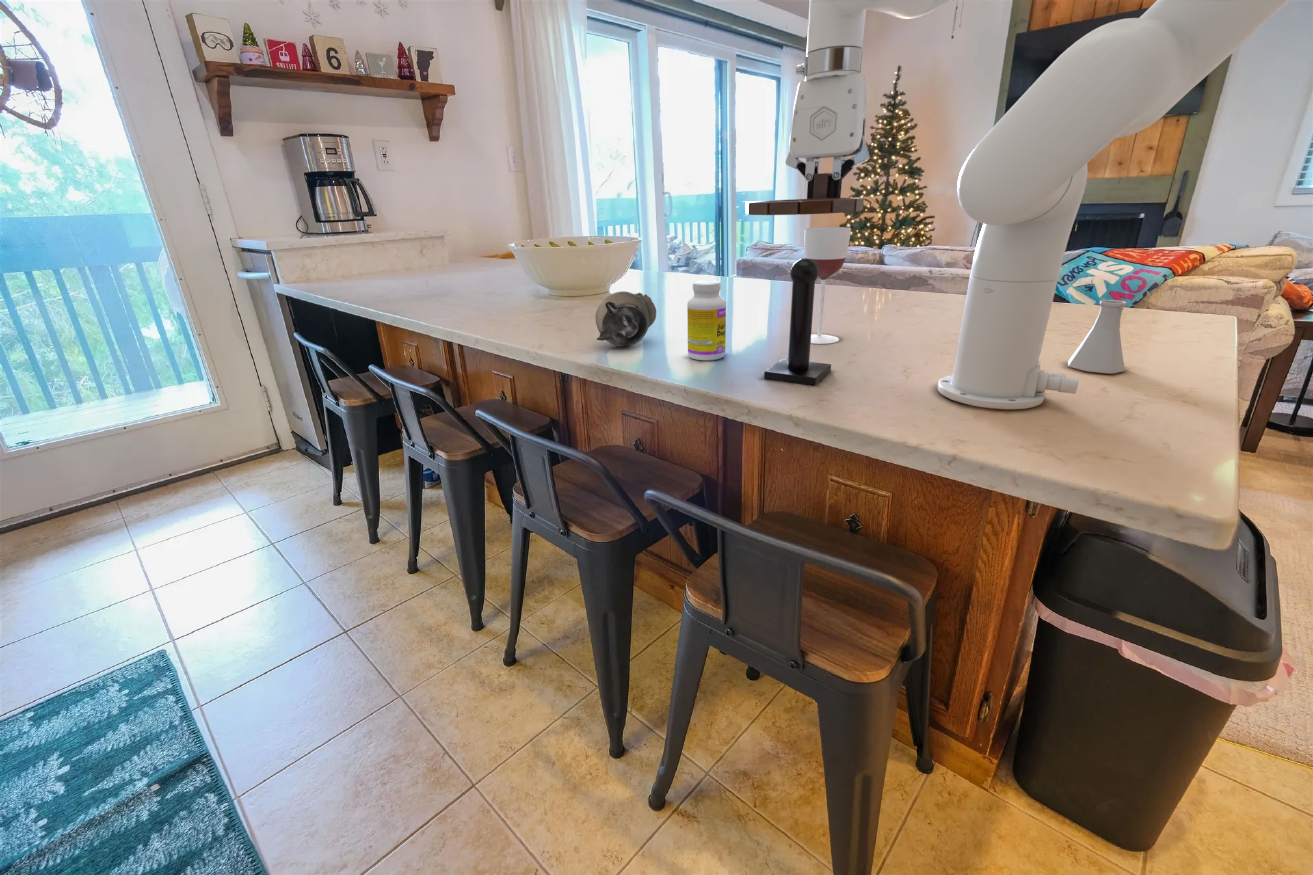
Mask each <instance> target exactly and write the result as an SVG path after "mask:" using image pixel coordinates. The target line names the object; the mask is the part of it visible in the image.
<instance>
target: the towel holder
mask: <svg viewBox="0 0 1313 875" xmlns="http://www.w3.org/2000/svg"><path fill="white" fill-rule="evenodd" d="M818 273H819V271H818V266H817V265H816V263H815V262H814V261H812V260H811V259H806V258H805V257H804V258H800V259H798V260H796V261H795V262H794V263H793V264H792V266H791V268H790V271H789V274H790V275H789V277H790V280H791V282H792V283H791V284H792V285H791V302H790V319H789V320H790V321H789V335H788V337H789V339H788V353H787V356H788V357H787V358H782V359H780V360H778V361H777V362H776V363H774V364H773V365H772V366H770V367H769V368H767V369H766V370H765V371H764V373H763V379H764V380H769V381H776V382H777V381H778V382H785V383H791V384H792V383H793V384H799V385H805V386H806V385H807V386H814V387H815V386H817V385H818V384H819V383H820V382H821V381H822V380H823V379H824V378H825V377H826V376H828V374H830V373H831V372H832V364H831V363H824V362H815V361H810V358H811V345H812V343H811V335H812V328H813V315H814V314H813V313H814V301H815V300H814V299H815V288H816V281H817V279H818V278H819V277H818Z"/></svg>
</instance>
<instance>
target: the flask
mask: <svg viewBox="0 0 1313 875" xmlns="http://www.w3.org/2000/svg"><path fill="white" fill-rule="evenodd" d="M1127 305H1128V302H1127V301H1126V300H1120V299H1119V300H1118V299H1102V300H1100V301H1099V306H1100V309H1099V312H1098V315H1097V317H1096V319H1095V322H1094V323H1093V325H1092V327H1091V328H1090V330H1089V331H1088V332H1087V334H1086V336H1085V337H1084V339H1083V340H1082V342H1081V343H1080V344H1079V345H1078V347H1077V348H1076V350H1074V352H1073V354H1072V355H1071V356H1070V358H1069V359H1068V361H1067V366H1068V367H1069V368H1073V369H1077V370H1081V371H1085V372H1091V373H1102V374H1111V375H1112V374H1116V373H1122V372H1125V371H1126V370H1125V362H1124V355H1123V349H1122V340H1121V318H1122V313H1123V310H1124V308H1125V307H1127Z"/></svg>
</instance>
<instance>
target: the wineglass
mask: <svg viewBox="0 0 1313 875" xmlns="http://www.w3.org/2000/svg"><path fill="white" fill-rule="evenodd" d="M803 232H804V233H803V250H804V251H803V253H804V258H806V259H811V260H812V261H814V262H815V263H816V265H817V266H818V271H819V273H818V277H817V278H819V279H820V280H821V281H820V292H819V294H820V295H819V307H818V318H817V331H816V332H817V334H816V333H815V334H811V344H815V345H816V344H817V345H826V344H835V343H837V342H839V341H840V338H839V337H838V336H834V335H830V334H822V330H823V317H824V305H825V293H826V280H827V279H828V278H830V277H832V276H833V275H835V274H836V273H837V272H839V271H840V270H841V269H842V267H843V266H844V263H845V262H846V259H847V255H848V252H849V251H848V250H849V245H850V240H851V232H852V228H851V227H846V226H822V227H808V228H804V231H803Z"/></svg>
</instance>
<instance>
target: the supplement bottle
mask: <svg viewBox="0 0 1313 875" xmlns="http://www.w3.org/2000/svg"><path fill="white" fill-rule="evenodd" d="M721 283H722V282H721V281H718V280H696V281H693V283H692V290H693V296H692V297H690V298H689V299H688V300H687V304H686V305H687V308H686V311H687V355H688V356H689V358H691V359H692V360H697V361H715V360H716V361H717V360H719V359H722V358H723V357H724V356H725V354H726V340H727V337H726V336H727V335H726V334H727V333H726V332H727V331H726V330H727V302H726V300H725V298H724V297H722V296H721V295H720V291H721Z"/></svg>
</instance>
